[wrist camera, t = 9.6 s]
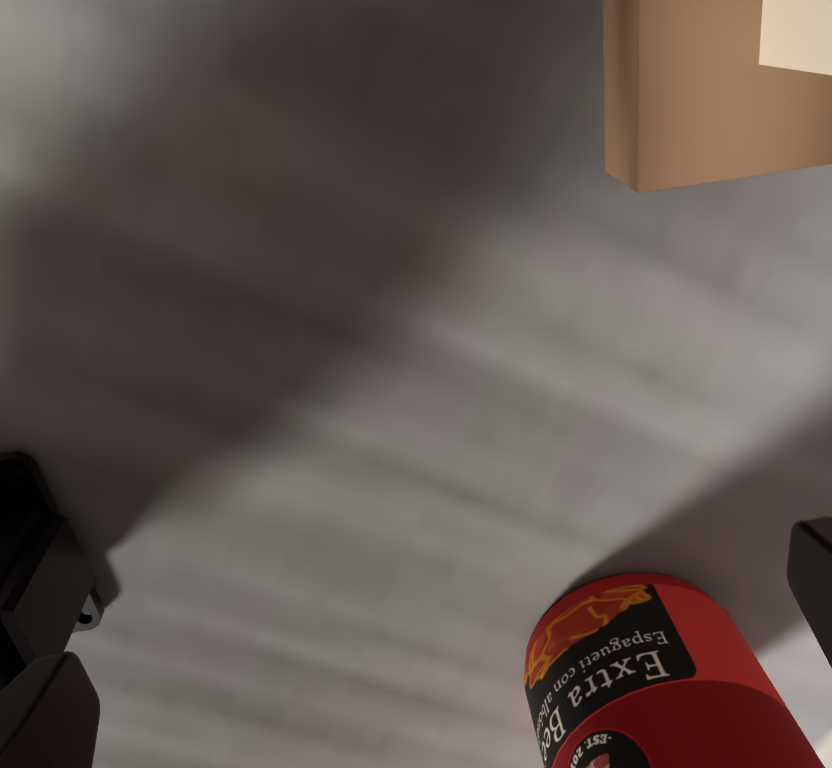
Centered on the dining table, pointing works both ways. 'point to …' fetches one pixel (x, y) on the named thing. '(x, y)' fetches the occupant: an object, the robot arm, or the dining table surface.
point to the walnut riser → (704, 97)
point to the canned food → (653, 683)
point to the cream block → (797, 35)
